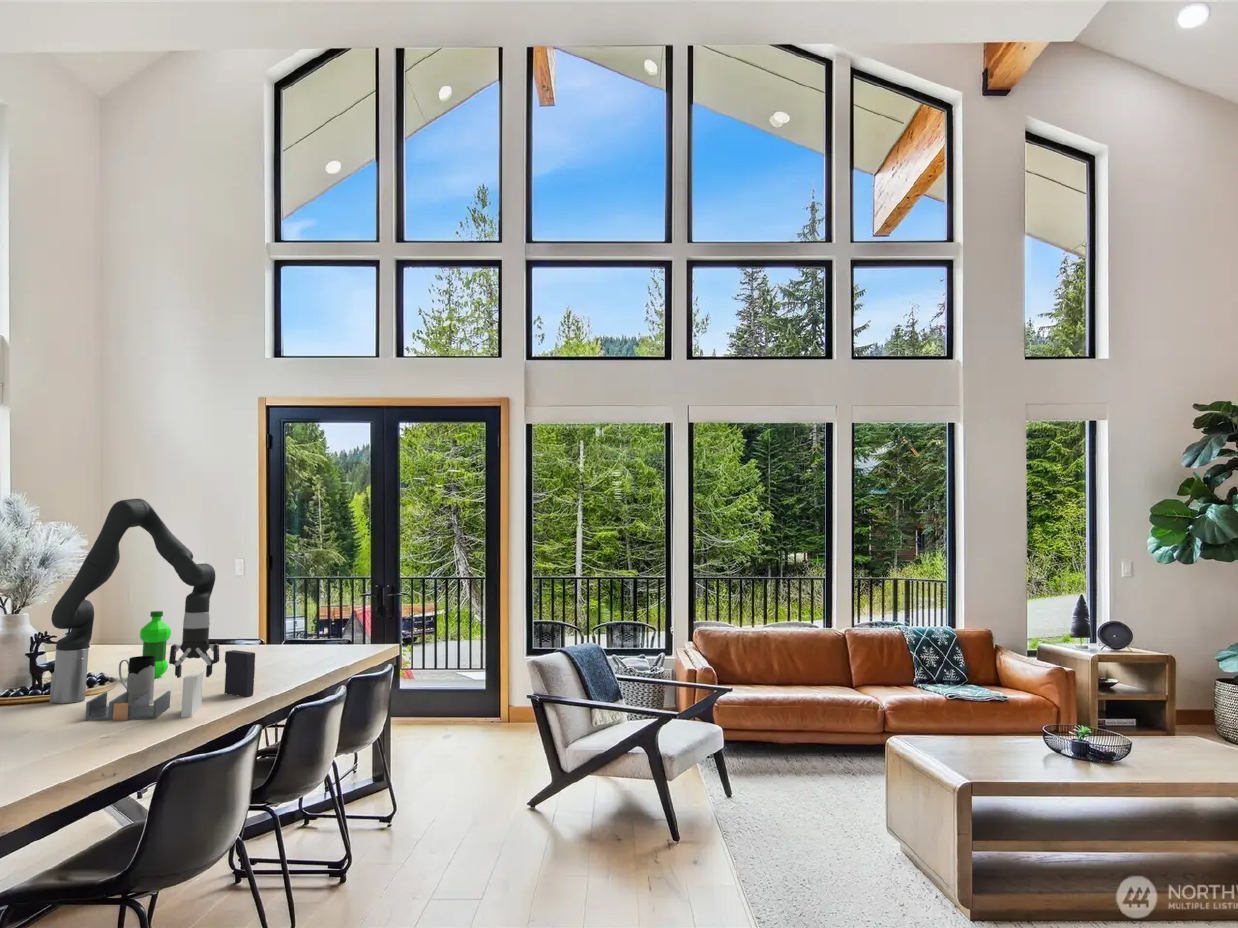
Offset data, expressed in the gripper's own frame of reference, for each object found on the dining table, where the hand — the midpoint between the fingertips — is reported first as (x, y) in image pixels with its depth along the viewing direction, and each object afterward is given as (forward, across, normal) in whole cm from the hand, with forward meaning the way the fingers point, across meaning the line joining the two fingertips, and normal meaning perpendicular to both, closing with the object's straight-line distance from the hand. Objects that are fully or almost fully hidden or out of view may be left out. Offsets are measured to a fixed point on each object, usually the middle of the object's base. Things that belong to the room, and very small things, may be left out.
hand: (193, 677), depth 267 cm
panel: (+11, 0, 0) cm, 11 cm away
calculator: (+11, +9, +27) cm, 30 cm away
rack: (+11, -18, 0) cm, 21 cm away
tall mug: (+11, -22, +18) cm, 31 cm away
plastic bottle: (+11, -29, +64) cm, 71 cm away
